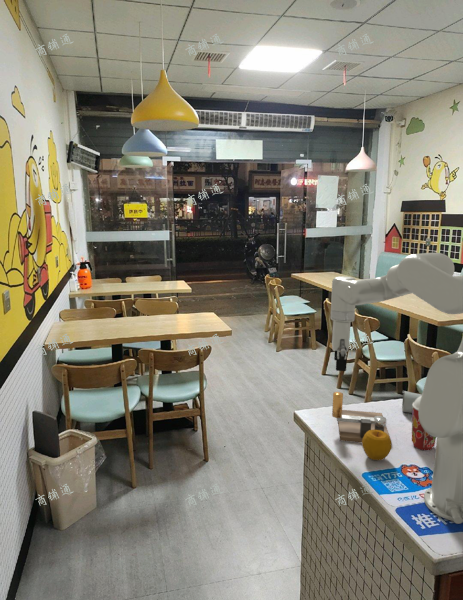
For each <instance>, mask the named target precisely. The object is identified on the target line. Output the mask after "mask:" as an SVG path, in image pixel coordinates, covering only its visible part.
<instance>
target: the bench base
mask: <svg viewBox="0 0 463 600" xmlns="http://www.w3.org/2000/svg"><path fill="white" fill-rule="evenodd" d="M342 415H349V416H360V417H372V418H374V417H375V416H382V417H384V416H383V413H382V412H374V411H365V410H364V411H363V410H362V411H361V410H350V409H342ZM337 427H338V434H339V441H340V442H348V443H350V442H352V443H360V444H362V440H363V437H364V435H365V433H366V432H367V431H369V430H381V431H383V432H385V433H386V434H388V435H389V437H390V433H389V429H388V427H387V425H386V426H385V427H377V426H375V425H374V424H371V420H370V419H361V423H354V422H343V421H337ZM390 438H391V437H390Z"/></svg>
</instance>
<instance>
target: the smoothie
mask: <svg viewBox="0 0 463 600" xmlns="http://www.w3.org/2000/svg"><path fill="white" fill-rule="evenodd" d="M420 400H421V396H420V397H418V398H417V399H416V400H415V402H413V404H412V406H413V407H412V413H411V415H412V416H411V442H412V444H413V446H414V447H415V448H416V449H418V450H420V451H431V450H433V448H434V447H436V441H437V437H433V436H431V435H429V434H428V433H427V432H426V431H425V430H424V429H423V427H422V426H421V423H420V421H419V415H418V411H419V404H420Z"/></svg>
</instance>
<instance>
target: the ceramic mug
mask: <svg viewBox="0 0 463 600" xmlns="http://www.w3.org/2000/svg"><path fill="white" fill-rule="evenodd" d="M420 396H422V394H421V393H415V392H412V391H406V390H404V391H403V394H402V403H401V412H404V413H408V414H409V413H410V414H412V407H413V406H412V404H413V402H415V400H416V399H417V398H418V397H420Z"/></svg>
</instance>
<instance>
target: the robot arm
mask: <svg viewBox="0 0 463 600" xmlns="http://www.w3.org/2000/svg"><path fill="white" fill-rule="evenodd" d="M454 264H455V263H454V262H453V260H452V258H451V257H449V256H448V255H446V254H444V253H440V252H424V253H422V252H421V253H413V254H409V255H407V256H406V257H404V258H402V260H401V261H400V262H399V263H398V264H396V265H393V266H391V267H390V268H388V270H387V271H386V272H387V273H386V275H382V276H379V277H374V278H366V279H365V278H364V279H357V280H356V279H355V277H352V276H342V275H341V276H336V277H333V279H332V280H331V281H332V283H331V297H330V298H331V300H330V303H331V304H330V321H332V332H331V333H332V337H331V347H332V349H331V350H332V351H333V352H334V361H335V370H336V372H337V371H338V372H346V371H347V363H348V362H347V361H348V359H347V352H349V348H350V339H351V338H350V336H351V322H354V321H355V317H356V315H355V314H356V306H363V305H368V304H374V303H380V302H384V301H388V300H393V299H396V298H400V297H403V296H406V295H409V294H413V295H415V296H416V297H417V298H419V299H421V300H422V301H424V302H426V303H427V304H428V305H429V306H431V307H433V308H435V309H436V310H438V311H439V312H442V313H445V314H447V315H461V314H463V274H462V275H456V276H454V274H455V265H454ZM424 382H425V383H424V386H423V390H422V394H421V395H422V396H421V400H420V404H419V411H418V415H419V421H420V423H421V426H422V427H423V429H424V430H425V431H426V432H427V433H428V434H429V435H431V436H433V437H436V442H435V453H434V462H433V463H434V464H433V471H432V472H433V474H432V480H431V487H429V488H428V489H426V491H424V495H423V500H424V503H425V505H426V507H427V508H428V509H429V510H430V511H432V513H434V514H435V515H436V516H439V517H441V518H443V519H444V520H448V521H452V522H454V523H455V524H457V525H458V524H463V337H462V338H461V342H460V344H459V347H458V349H457V351H455V352H454V353H452V354H448V355H444V356H442V357H439V358H438V359H436V360H435V361H434V362H433V364H431V366H430V368H429V369H428V372H427V375H426V378H425V381H424Z"/></svg>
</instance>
